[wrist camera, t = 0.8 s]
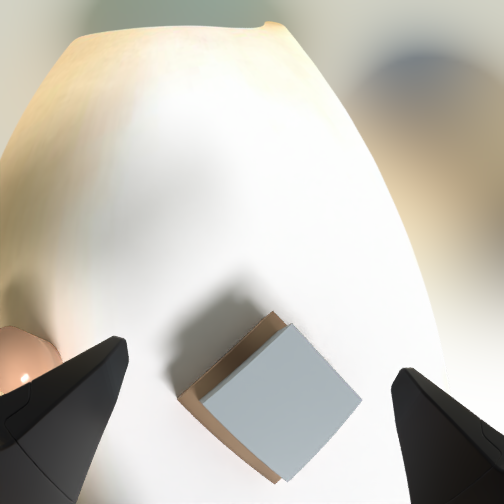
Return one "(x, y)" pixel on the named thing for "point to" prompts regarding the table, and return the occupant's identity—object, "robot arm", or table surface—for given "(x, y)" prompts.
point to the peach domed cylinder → (24, 358)
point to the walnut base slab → (218, 374)
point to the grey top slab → (283, 402)
